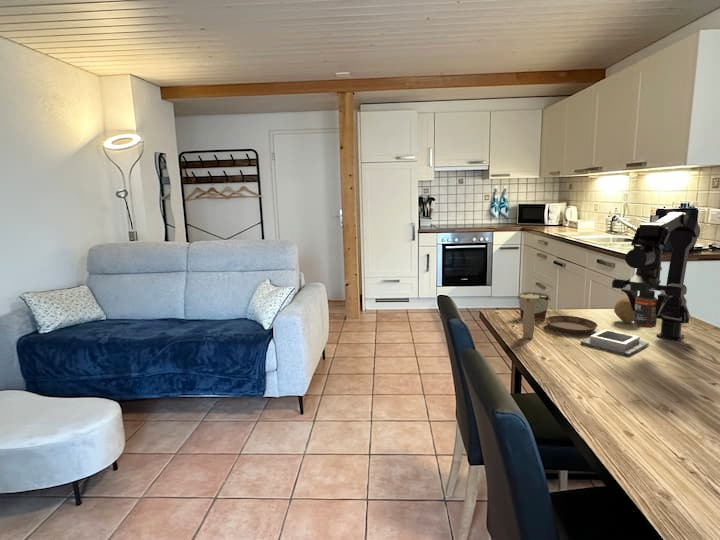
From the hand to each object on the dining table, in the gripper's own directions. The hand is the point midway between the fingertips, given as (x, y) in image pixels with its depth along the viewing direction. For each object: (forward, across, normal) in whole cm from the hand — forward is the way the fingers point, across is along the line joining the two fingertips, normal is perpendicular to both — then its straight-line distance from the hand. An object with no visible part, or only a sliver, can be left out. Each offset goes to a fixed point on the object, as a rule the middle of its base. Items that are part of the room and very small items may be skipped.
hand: (645, 313), depth 136 cm
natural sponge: (+13, -16, +30) cm, 36 cm away
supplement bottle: (+4, 0, 0) cm, 4 cm away
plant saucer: (+13, -26, +7) cm, 31 cm away
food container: (+13, -44, +12) cm, 48 cm away
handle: (+13, -32, -13) cm, 37 cm away
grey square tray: (+13, -9, +1) cm, 16 cm away
